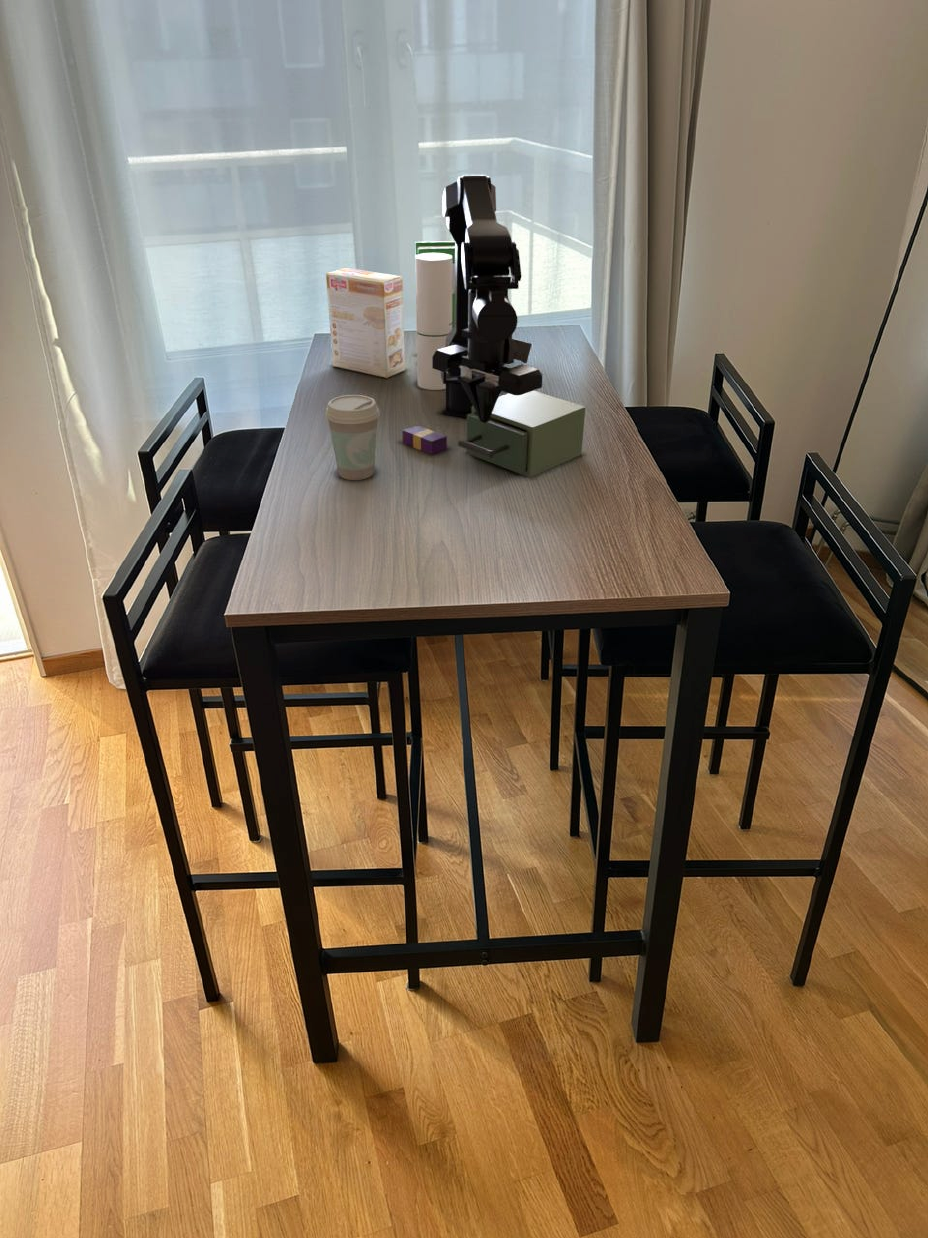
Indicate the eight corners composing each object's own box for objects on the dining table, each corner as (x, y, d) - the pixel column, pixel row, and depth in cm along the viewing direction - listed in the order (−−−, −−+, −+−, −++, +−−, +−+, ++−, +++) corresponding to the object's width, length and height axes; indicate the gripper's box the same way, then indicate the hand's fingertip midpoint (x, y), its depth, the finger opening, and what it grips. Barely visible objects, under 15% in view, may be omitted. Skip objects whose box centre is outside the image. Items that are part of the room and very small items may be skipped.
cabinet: (530, 477, 146) (533, 427, 141) (470, 454, 154) (471, 406, 149) (581, 454, 154) (585, 406, 149) (522, 433, 162) (524, 387, 157)
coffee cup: (341, 487, 142) (336, 415, 135) (322, 468, 148) (317, 398, 141) (390, 477, 145) (387, 406, 138) (370, 459, 151) (366, 390, 145)
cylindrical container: (456, 380, 186) (457, 254, 173) (445, 391, 181) (444, 261, 167) (425, 376, 188) (423, 251, 174) (412, 387, 182) (409, 258, 169)
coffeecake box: (406, 370, 192) (403, 275, 181) (386, 378, 187) (382, 282, 176) (351, 358, 199) (346, 266, 188) (331, 366, 194) (324, 272, 183)
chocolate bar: (447, 449, 155) (447, 435, 154) (431, 454, 153) (431, 441, 152) (417, 437, 160) (417, 424, 158) (402, 443, 158) (402, 429, 156)
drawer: (501, 483, 142) (502, 442, 138) (446, 460, 149) (446, 421, 145) (569, 453, 152) (572, 415, 148) (514, 433, 159) (516, 396, 156)
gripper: (568, 325, 133) (561, 424, 142) (479, 302, 144) (477, 395, 153) (519, 339, 127) (515, 443, 135) (429, 314, 138) (430, 411, 146)
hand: (484, 421), depth 143 cm, fingers closed
